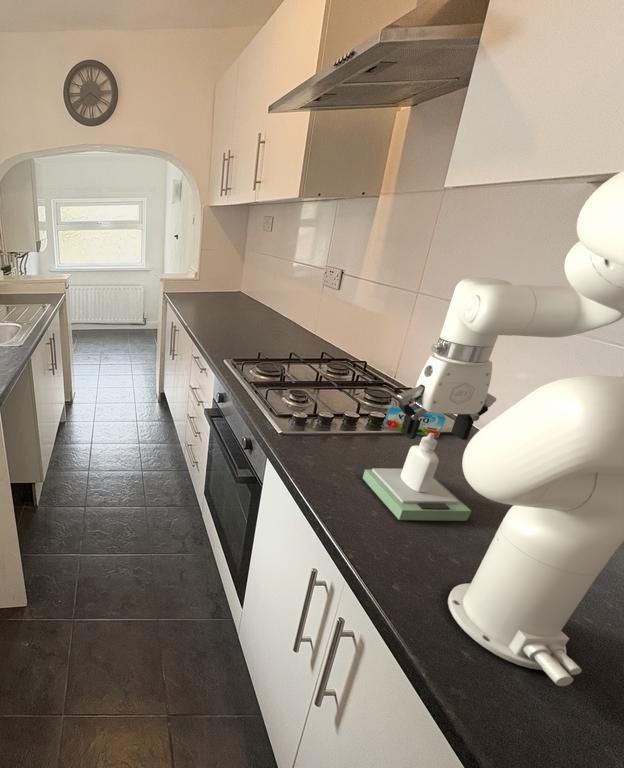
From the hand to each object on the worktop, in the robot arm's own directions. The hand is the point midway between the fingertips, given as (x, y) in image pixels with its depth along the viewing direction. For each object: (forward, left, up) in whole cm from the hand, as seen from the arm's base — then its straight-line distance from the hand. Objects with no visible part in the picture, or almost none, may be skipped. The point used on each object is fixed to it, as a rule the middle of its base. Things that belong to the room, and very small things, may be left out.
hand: (433, 436), depth 79 cm
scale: (0, 0, -15) cm, 15 cm away
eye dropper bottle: (0, 0, -12) cm, 12 cm away
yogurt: (+27, -17, -15) cm, 35 cm away
